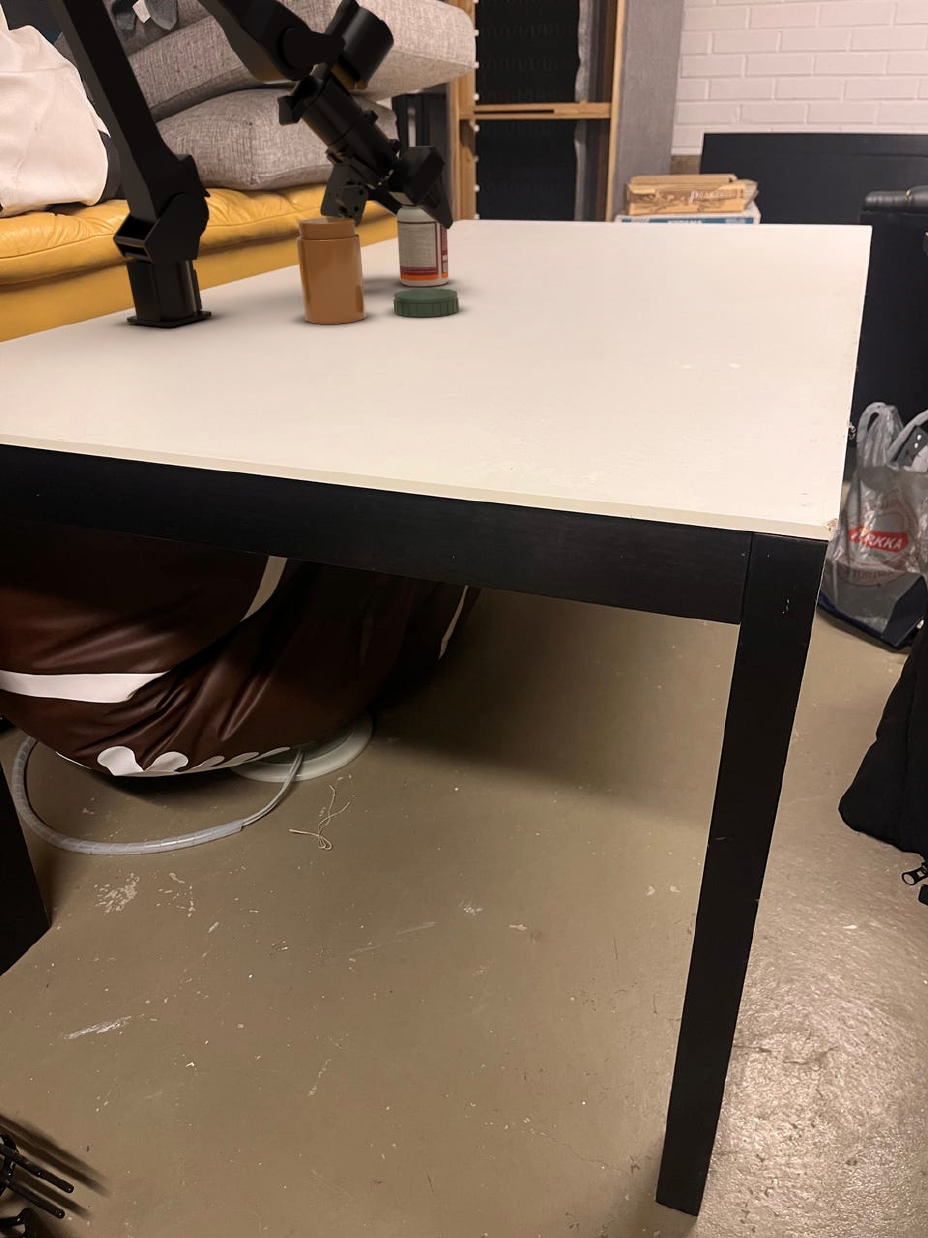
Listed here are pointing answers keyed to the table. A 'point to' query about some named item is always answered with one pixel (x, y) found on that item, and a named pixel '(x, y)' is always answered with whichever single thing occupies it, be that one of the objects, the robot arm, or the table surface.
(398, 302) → the jar lid
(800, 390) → the table surface
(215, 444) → the table surface
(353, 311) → the jar
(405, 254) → the pill bottle
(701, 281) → the table surface
